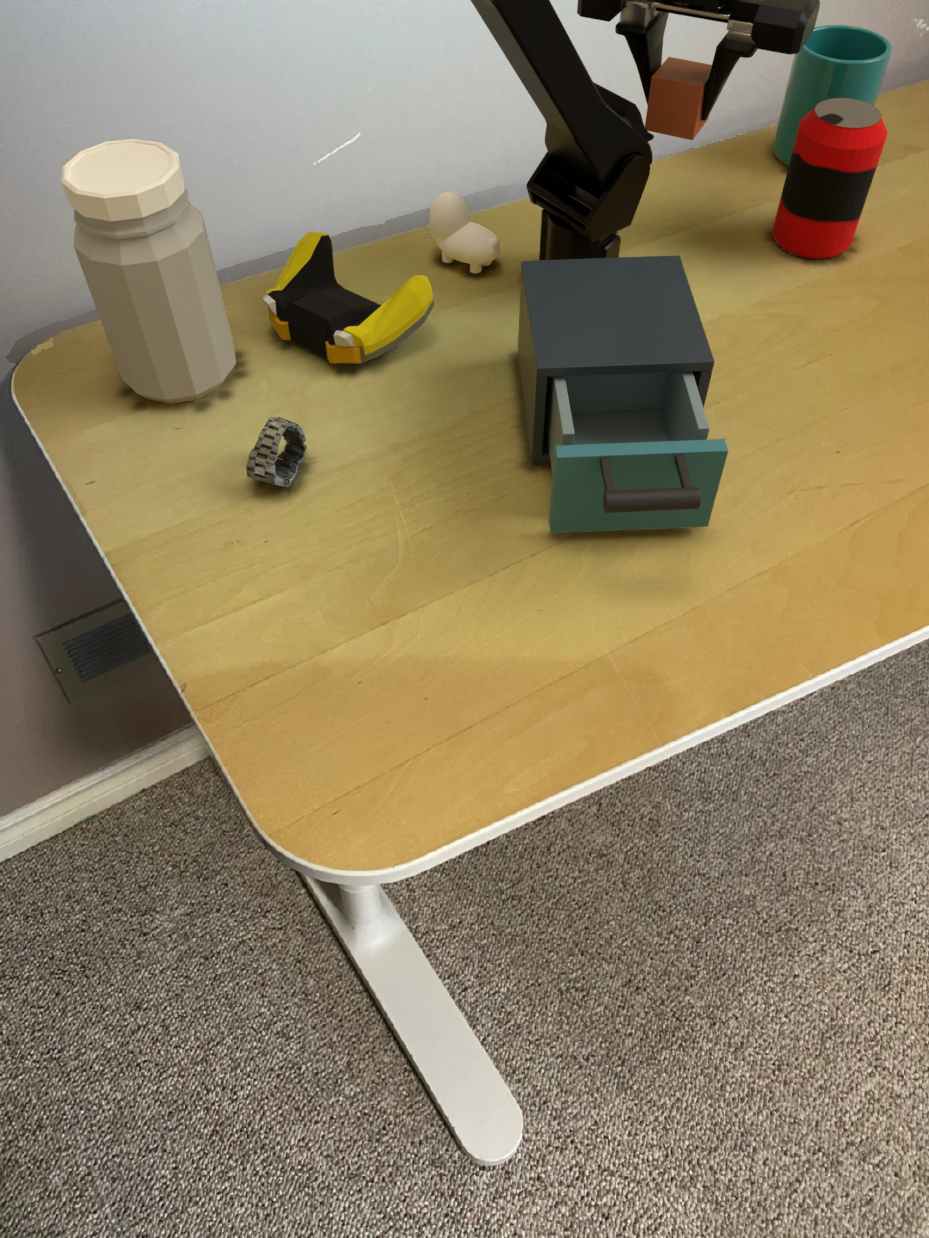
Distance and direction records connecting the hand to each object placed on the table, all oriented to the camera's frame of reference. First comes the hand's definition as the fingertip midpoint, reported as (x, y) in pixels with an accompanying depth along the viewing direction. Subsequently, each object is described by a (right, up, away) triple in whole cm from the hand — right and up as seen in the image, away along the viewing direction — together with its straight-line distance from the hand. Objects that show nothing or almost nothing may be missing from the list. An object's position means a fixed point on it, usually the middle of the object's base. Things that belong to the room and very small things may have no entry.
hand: (678, 113), depth 85 cm
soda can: (+15, -8, +9) cm, 19 cm away
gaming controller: (-30, -19, +1) cm, 35 cm away
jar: (-43, -24, -3) cm, 49 cm away
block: (0, -1, +1) cm, 1 cm away
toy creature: (-19, -10, +8) cm, 23 cm away
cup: (+20, +6, +20) cm, 29 cm away
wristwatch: (-33, -34, -11) cm, 48 cm away
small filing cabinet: (-8, -27, -6) cm, 29 cm away
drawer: (-7, -35, -13) cm, 38 cm away
